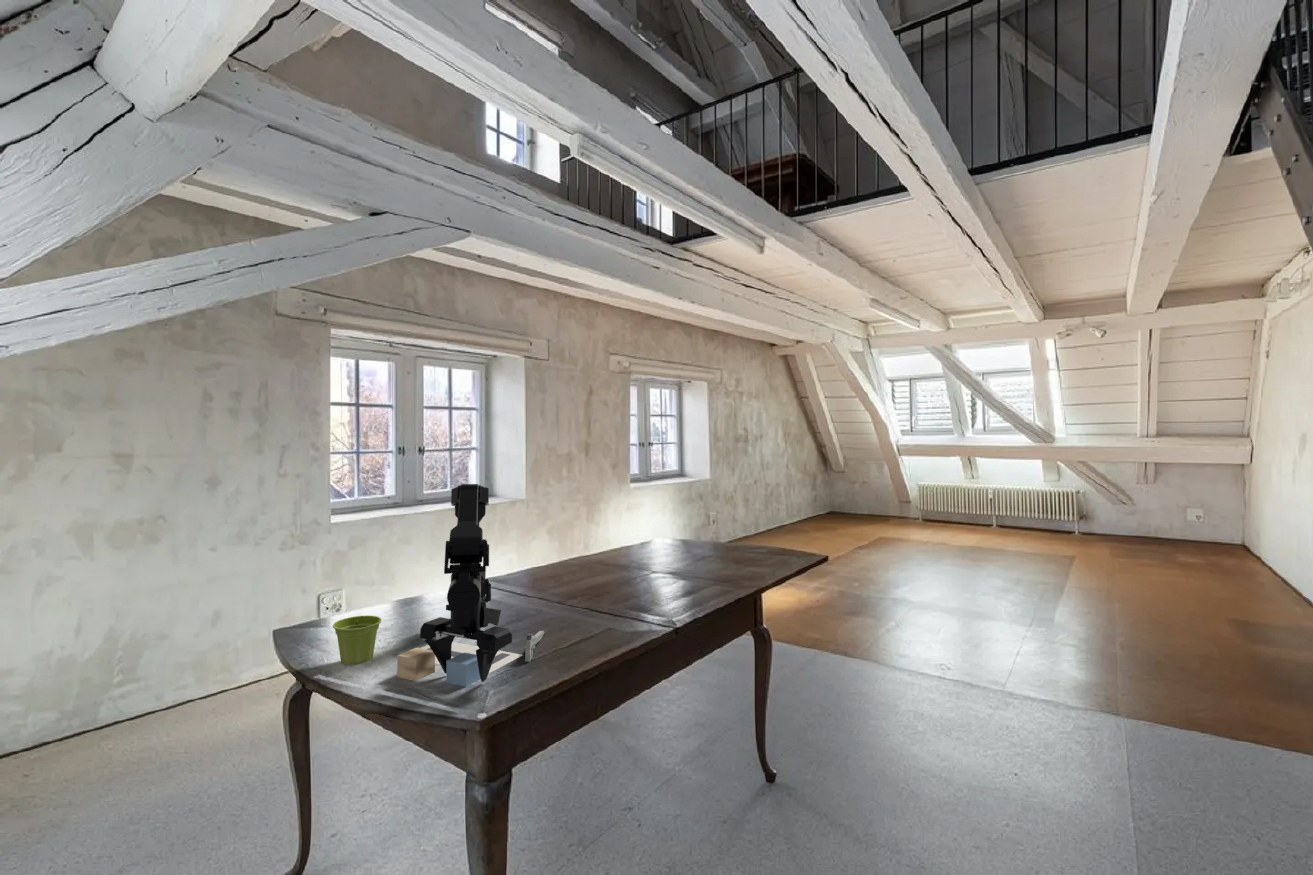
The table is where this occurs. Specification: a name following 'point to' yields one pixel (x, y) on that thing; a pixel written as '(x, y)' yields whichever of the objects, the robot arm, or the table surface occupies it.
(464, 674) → the blue cube
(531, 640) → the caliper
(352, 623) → the plant pot
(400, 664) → the wood block
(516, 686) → the table surface
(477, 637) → the robot arm
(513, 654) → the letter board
